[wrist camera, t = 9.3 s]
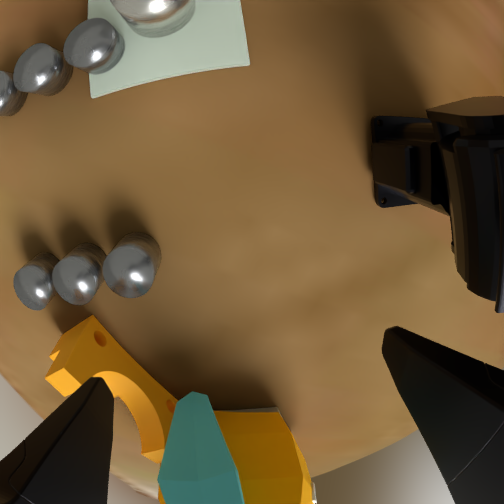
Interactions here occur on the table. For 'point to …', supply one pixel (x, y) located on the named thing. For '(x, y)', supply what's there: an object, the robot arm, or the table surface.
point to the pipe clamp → (114, 380)
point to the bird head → (231, 457)
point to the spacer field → (84, 255)
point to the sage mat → (174, 46)
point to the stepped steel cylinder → (155, 15)
